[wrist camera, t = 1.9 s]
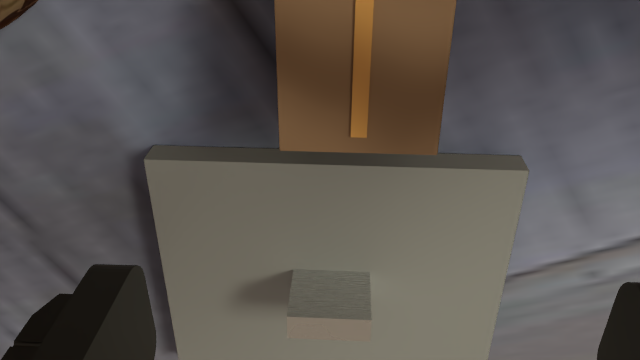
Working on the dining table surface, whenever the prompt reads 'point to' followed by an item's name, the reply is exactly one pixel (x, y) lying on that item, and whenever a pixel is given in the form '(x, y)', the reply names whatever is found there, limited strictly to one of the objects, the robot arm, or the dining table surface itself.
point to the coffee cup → (13, 10)
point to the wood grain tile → (329, 305)
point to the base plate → (333, 247)
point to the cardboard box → (362, 74)
